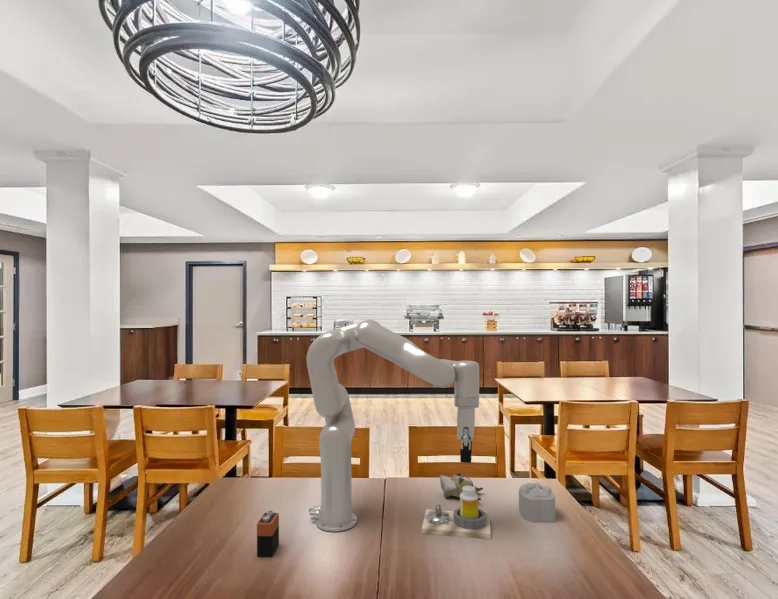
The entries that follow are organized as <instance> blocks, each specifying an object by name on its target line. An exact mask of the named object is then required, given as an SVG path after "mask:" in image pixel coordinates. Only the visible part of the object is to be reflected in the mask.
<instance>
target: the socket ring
mask: <svg viewBox="0 0 778 599" xmlns="http://www.w3.org/2000/svg"><path fill="white" fill-rule="evenodd" d="M453 511H454V523H455V524H456V525H457V526H458V527H461V528H464V529H472V530H475V529H480V528H483V527H484V526H485V525H486V514H487V513H486V512H485V511H484V510H483V509H481V508H479V507H478V518H479V519H473V520H472V519H465V518H462V517H460V507H458V508H456V509H454V510H453Z"/></svg>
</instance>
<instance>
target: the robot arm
mask: <svg viewBox="0 0 778 599" xmlns="http://www.w3.org/2000/svg"><path fill="white" fill-rule="evenodd" d="M363 348H364V349H367V350H369V351H370V352H372V353H374V354H376V355H378V356H380V357H382V358H384V359H386V360H387V361H389V362H392V363H394V364H395V365H397V366H398V367H400V368H401V369H403V370H405V371H406V372H409V373H410V374H412V375H414V376H416V377H417V378H419V379H420V380H423V381H426V382H427V383H429V384H431V385H433V386H435V387H437V388H440V389H441V388H442V389H445V388H448V387H450V386H452V384H453V383H454V384H453V385H454V394H453V396H454V407H456V408H457V411H456V414H457V415H456V441H460V440H461V442H460V444H461V446H460V449H459V450H460V451H459V453H460V456H459V458H460V460H459V461H460V463H462V464H471V463H472V451H473V449H472V448H473V440H474V434H475V422H476V421H475V420H476V409H478V408H480V365H479V363H478V362H477V361H474V360H450V359H444V358H441V359H440V358H436V357H435V356H433V355H431V354H429V353H428V352H426V351H424V350H422V349H420V348H419V347H418V346H417V345H416V344H414V343H413V341H412V340H410V339H408V338H406V337H404V336H402V335H401V334H398V333H396V332H394V331H393V330H391V329H388V328H386V327H385V326H383V325H381V324H380V322H378V321H376V320H375V319H366V320H365V319H364V320H362V321H360V322H357V323H353V324H350V325H345V326H343V327H339V328H335V329H330V330H327V331H325V332H323V333H322V334H320V335H318V336H317V338H315V339H314V340H313V342H311V344H310V346H309V348H308V350H307V353H306V367H307V371H308V375H309V382H310V387H311V393H312V398H313V402H314V407H315V410H316V412H317V414H318V415H319V416H321V417H322V418H324V421H325V425H324V426H323V428H322V430H321V431H320V435H319V439H318V440H319V441H318V447H319V453H320V454H319V455H320V489H321V490H320V492H321V496H320V500H321V501H320V504H321V505H319V506H315V505H310V506H309V507H308V513H309V516H312V517H314V516H315V517H316V516H317V517H316V520H315V521H316V526H317V527H318V528H319V529H320V530H323V531H326V532H333V533H334V532H343V531H346V530H349V529H351V528H353V527H354V526H356V524H357V521H358V518H357V515H356V513H354V512H353V509H352V508H353V502H352V501H353V498H352V497H353V496H352V494H353V483H352V482H353V481H352V480H353V478H352V477H353V476H352V474H353V472H352V451H351V450H352V449H351V447H352V446H351V444H352V441H353V440H352V439H353V437H354V435H355V433H356V432H355V431H356V424H355V419H354V415H353V410H352V404H351V400H350V396H349V394H348V390H347V389H346V387H345V386H344V385H342V384H341V383H339V380H338V374H337V371H336V367H335V362H334V361H335V359H336V358H337V357H339V356H341V355H343V354H345V353H349V352H353V351H355V350H356V351H357V350H359V349H363Z"/></svg>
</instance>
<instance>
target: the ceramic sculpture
mask: <svg viewBox="0 0 778 599" xmlns="http://www.w3.org/2000/svg"><path fill="white" fill-rule="evenodd" d="M439 481H440V488H441V490H442V492H443V495H444V497H445V498H449V497H450V496H452V497H455V498H458V499H460V494H461V493H462V488H463V487H464V486H473V487H475V491H476V493H478V492H481V491H482V490H484V487H478V486H476V485H474V483H473V481H472V480H471V479H470V478H469V477H468V476H465V475H464V476H463V475H462V474H461V473H456V474H453V476H452V477H448V476H447V475H441V474H440V475H439ZM481 500H482V498H481V497H478V501H481Z"/></svg>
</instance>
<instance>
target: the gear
mask: <svg viewBox="0 0 778 599" xmlns="http://www.w3.org/2000/svg"><path fill="white" fill-rule="evenodd" d="M435 510H436V512H432V511H430V512H429V515H426V516H425V515H424V516H425V519H427V521H428V523H429V524H430V523H433V524H436V525H437V526H439V524H445V525H447V524H449V523H448V521H452V516H449V513H448V512H446V513H444V512H441V510H442V506H441V505H440V504H439V505H438V504H437V505H435Z"/></svg>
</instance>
